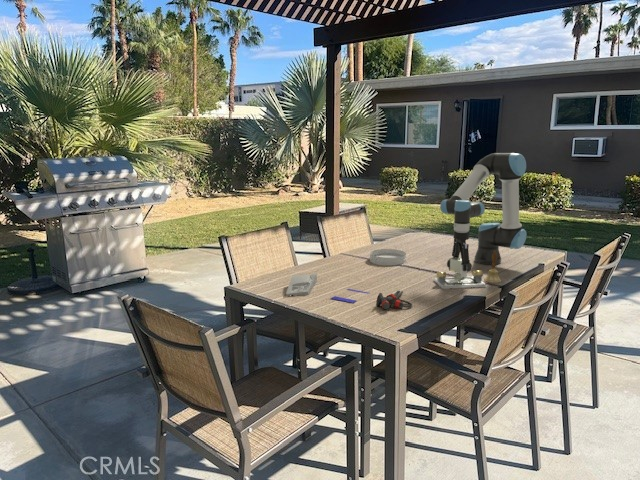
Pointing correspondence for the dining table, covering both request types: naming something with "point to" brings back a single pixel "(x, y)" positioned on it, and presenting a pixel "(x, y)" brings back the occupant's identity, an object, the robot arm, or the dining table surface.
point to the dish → (387, 257)
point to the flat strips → (348, 299)
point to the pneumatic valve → (457, 267)
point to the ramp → (301, 284)
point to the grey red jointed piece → (392, 301)
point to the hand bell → (493, 271)
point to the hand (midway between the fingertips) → (459, 273)
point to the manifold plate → (466, 283)
